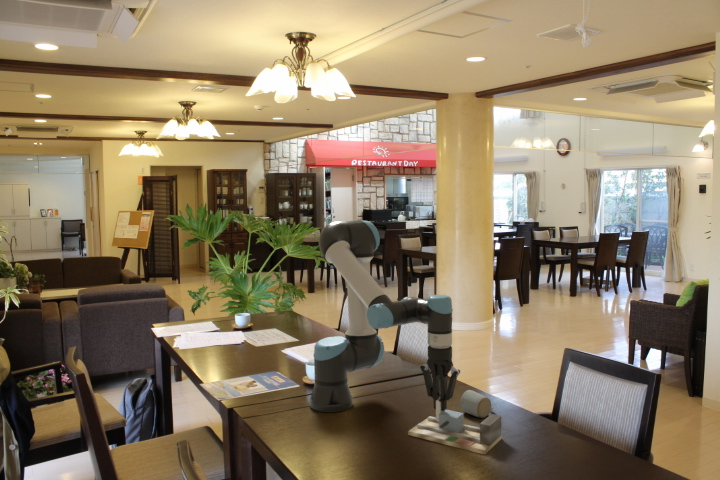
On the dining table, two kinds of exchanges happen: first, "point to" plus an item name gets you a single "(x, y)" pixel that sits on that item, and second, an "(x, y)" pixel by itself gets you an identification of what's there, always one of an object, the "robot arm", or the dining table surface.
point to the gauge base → (462, 434)
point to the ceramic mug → (475, 404)
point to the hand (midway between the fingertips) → (440, 419)
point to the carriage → (451, 421)
